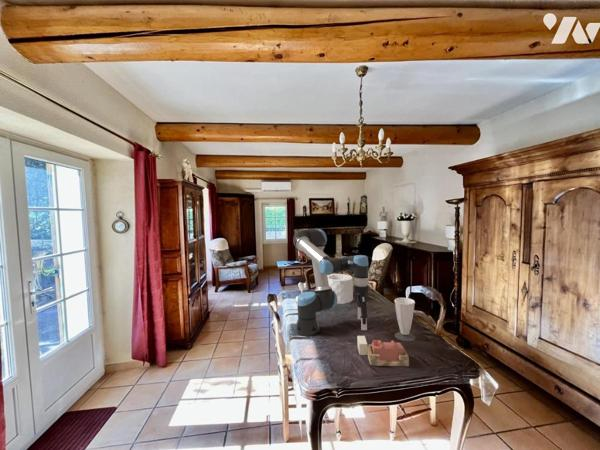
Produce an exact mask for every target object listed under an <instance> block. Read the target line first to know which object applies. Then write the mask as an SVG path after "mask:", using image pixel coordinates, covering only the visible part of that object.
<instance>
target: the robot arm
mask: <svg viewBox="0 0 600 450" xmlns="http://www.w3.org/2000/svg"><path fill="white" fill-rule="evenodd" d="M292 240H293V245H294V246H295V247H294V248H296V249H297V250H299V251H302V253H304V254H305V255H306V256H307V257H309V258H310V259H311V263H312V269H313V275H314V281H315V289H314V291H305V292H304V291H303V293H299V295H297V296H298V301H297V304H298V305H297V304H296V305H297V321H296V324H295V332H296V334H298V335H300V336H306V337H308V336H311V337H312V336H314V335H315V336H316V335H317V334H318V333H319V332H320V325H319V322H318V319H317V313H321V312H325V311H330V310H333V309H334V308H336V306H337V305H338V304H337V295H336V294H335V291H333V290H332V288H331V287H330V286H329V282H328V277H327V275H330V274H339V273H342V272H343V273H344V272H352V273H353V293H355V294H357V295H356V297H357V300H356V304H357V320H360V322H361V324H360V326H361V327H360V328H361V329H360V330H361V331H368V322H367V320H368V309H367V297H366V294H368V293H369V292H370V291H369V288H370V287H369V286H370V285H369V281H371V280H370V278H369V258H368V256H367V255H363V254H357V255H354V256H353V257H351V256H345V255H343V256H341V257H338V258H332V257H330V256H329V255H328V254H326V253H325V252H324V250H325V247H326V244H327V241H328V238H327V234H326V232H325V231H324V230H323V229H320V228H310V229H300V230H298V231H296V232H295V234H294V235H293V238H292Z"/></svg>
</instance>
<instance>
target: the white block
mask: <svg viewBox="0 0 600 450" xmlns="http://www.w3.org/2000/svg"><path fill="white" fill-rule="evenodd" d="M356 339H357V340H356V341H357V350H358V353H359V356H368V355H367V345H368V342H367V338H366V336H365V335H357V338H356Z"/></svg>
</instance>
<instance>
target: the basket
mask: <svg viewBox="0 0 600 450" xmlns="http://www.w3.org/2000/svg"><path fill="white" fill-rule="evenodd" d="M327 277H328V282H329V286H330V287H331V288H332V290H333V291H335V294H336V295H337V305H341V304H342V305H345V304H348V303H351V302H352V301H354V276H352V275H349V274H344V273H332V274H327Z"/></svg>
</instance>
